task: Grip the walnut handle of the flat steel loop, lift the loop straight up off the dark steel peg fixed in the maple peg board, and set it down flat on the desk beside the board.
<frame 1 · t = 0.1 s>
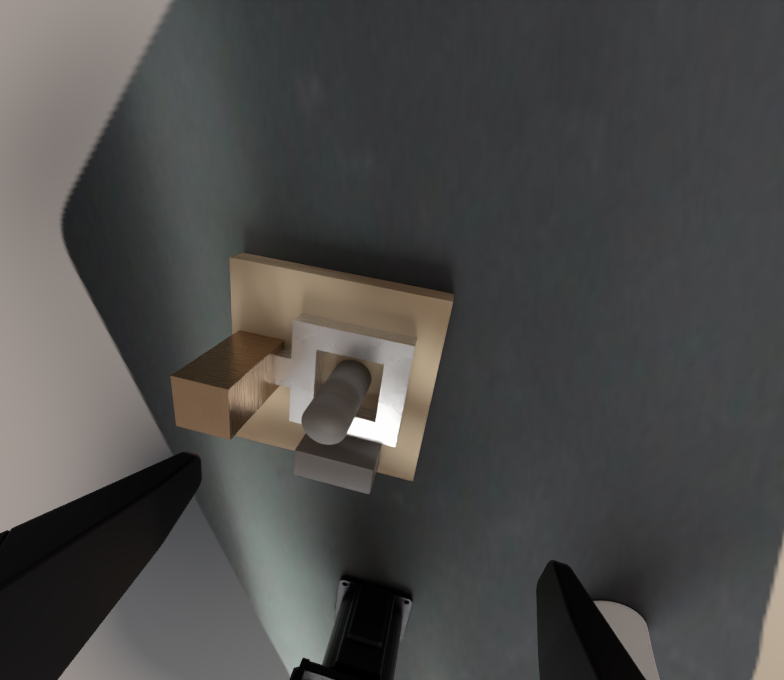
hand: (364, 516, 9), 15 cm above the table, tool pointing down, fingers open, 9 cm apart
cosmetic bottle: (602, 622, 30), on the table
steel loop: (352, 377, 23), point 1 cm above the table, touching maple peg board
maple peg board: (336, 367, 25), on the table
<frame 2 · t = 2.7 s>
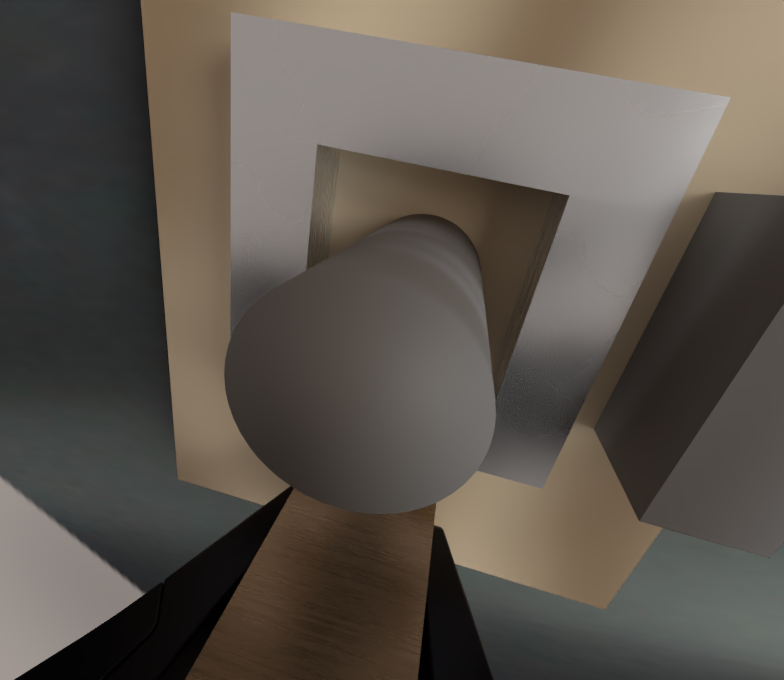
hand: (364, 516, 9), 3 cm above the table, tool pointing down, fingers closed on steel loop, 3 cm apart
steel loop: (420, 275, 8), point 1 cm above the table, touching gripper, maple peg board
maple peg board: (434, 321, 10), on the table
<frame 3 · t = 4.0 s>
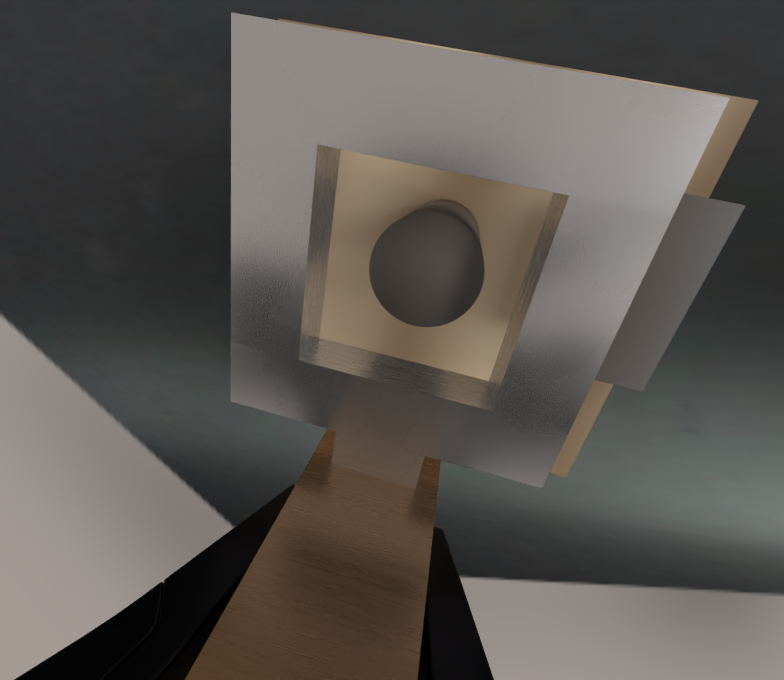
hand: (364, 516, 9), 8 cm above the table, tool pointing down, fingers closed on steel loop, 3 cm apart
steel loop: (420, 274, 8), point 7 cm above the table, touching gripper
maple peg board: (448, 275, 14), on the table
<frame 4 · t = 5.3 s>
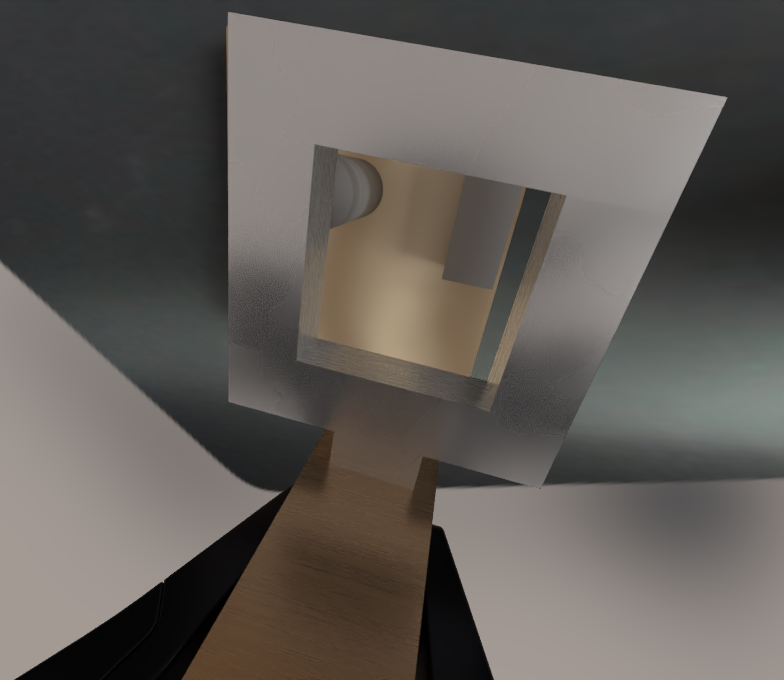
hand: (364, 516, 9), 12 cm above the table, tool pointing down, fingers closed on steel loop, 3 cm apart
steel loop: (418, 274, 8), point 11 cm above the table, touching gripper
maple peg board: (369, 222, 18), on the table
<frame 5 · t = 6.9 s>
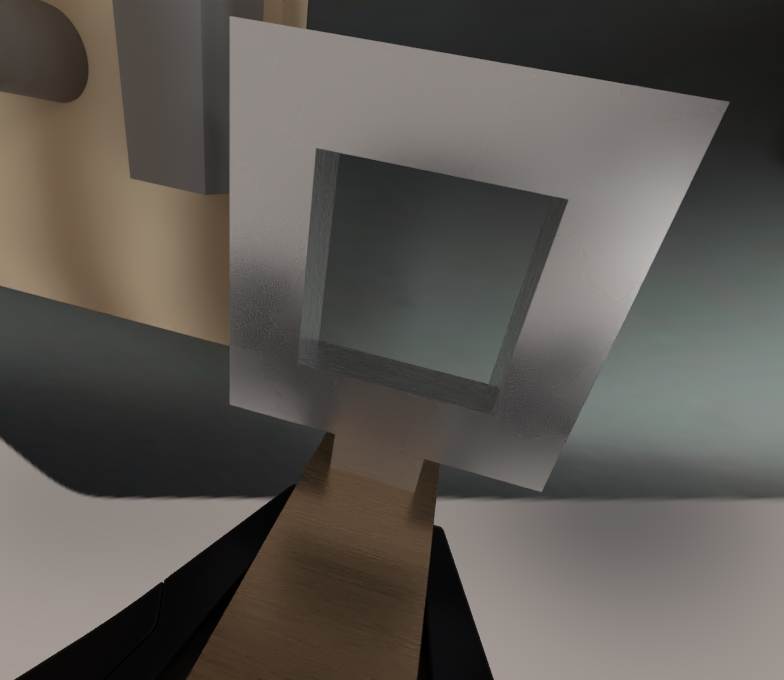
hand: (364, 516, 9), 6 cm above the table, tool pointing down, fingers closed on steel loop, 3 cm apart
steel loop: (420, 277, 8), point 5 cm above the table, touching gripper
maple peg board: (116, 123, 13), on the table
when the fingers open (3 cm above the table, at t = 8.2 s): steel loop drops 2 cm, on the table.
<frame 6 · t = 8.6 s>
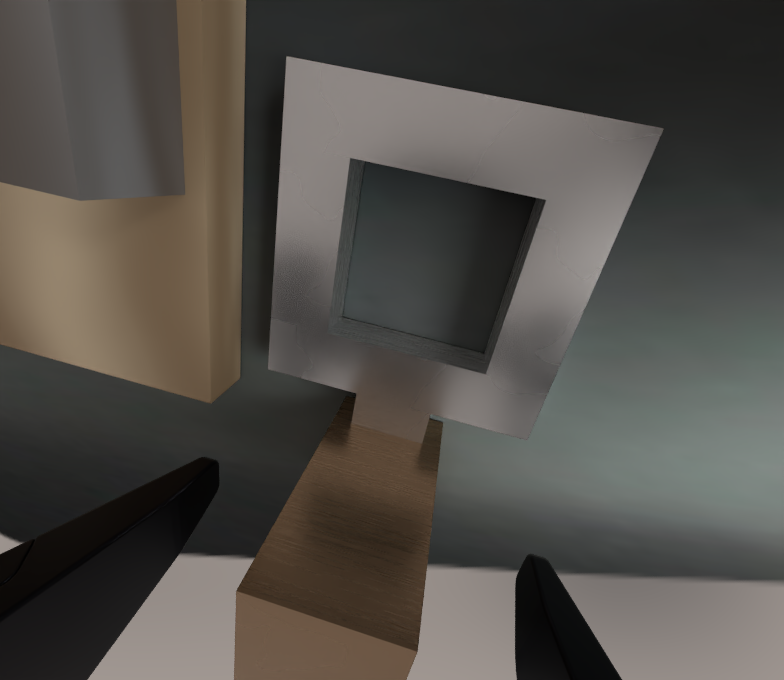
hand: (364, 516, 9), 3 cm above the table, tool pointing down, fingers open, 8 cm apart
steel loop: (428, 263, 9), on the table
maple peg board: (13, 105, 10), on the table
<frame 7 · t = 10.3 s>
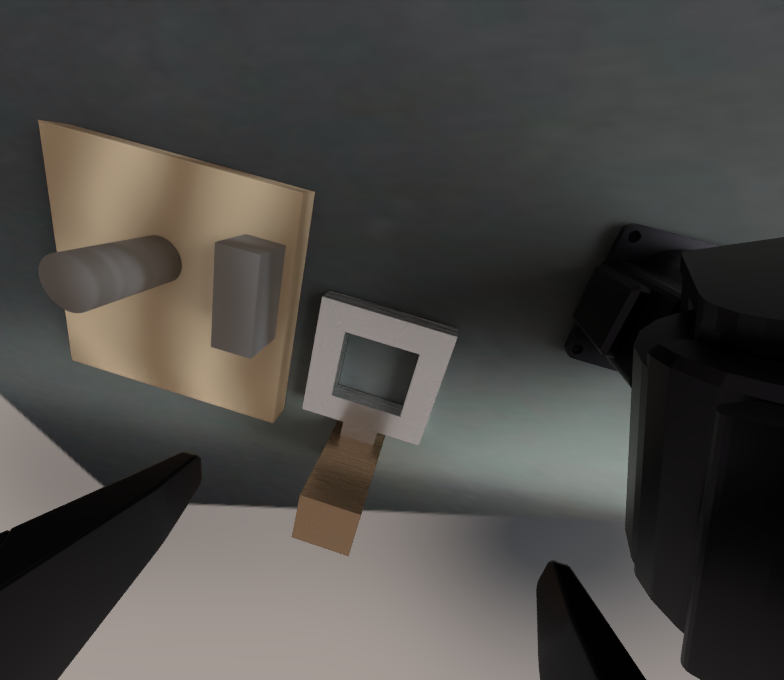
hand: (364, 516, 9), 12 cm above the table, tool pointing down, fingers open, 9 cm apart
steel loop: (378, 365, 21), on the table
maple peg board: (188, 282, 21), on the table
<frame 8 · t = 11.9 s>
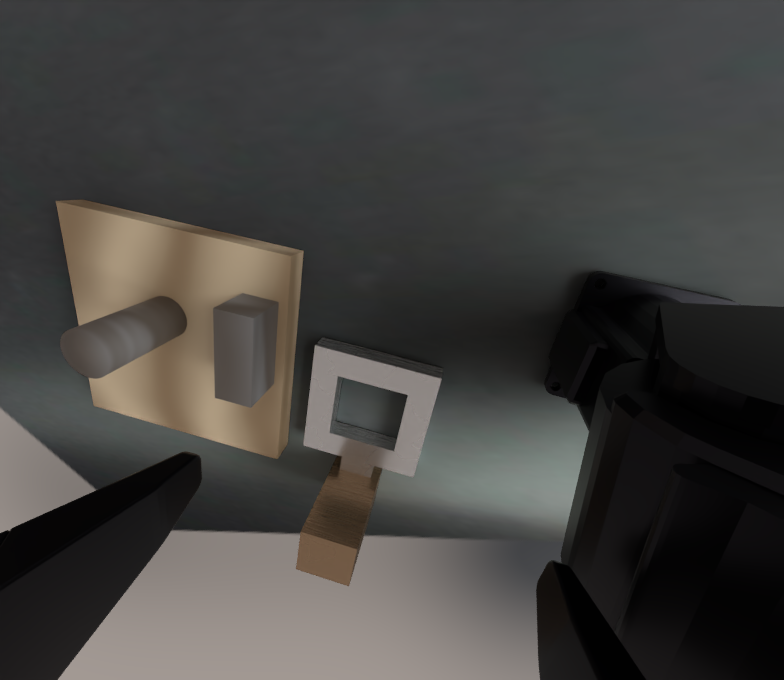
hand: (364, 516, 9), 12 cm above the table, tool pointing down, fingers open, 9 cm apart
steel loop: (371, 403, 23), on the table
maple peg board: (194, 332, 23), on the table
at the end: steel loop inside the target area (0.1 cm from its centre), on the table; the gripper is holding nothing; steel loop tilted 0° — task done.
